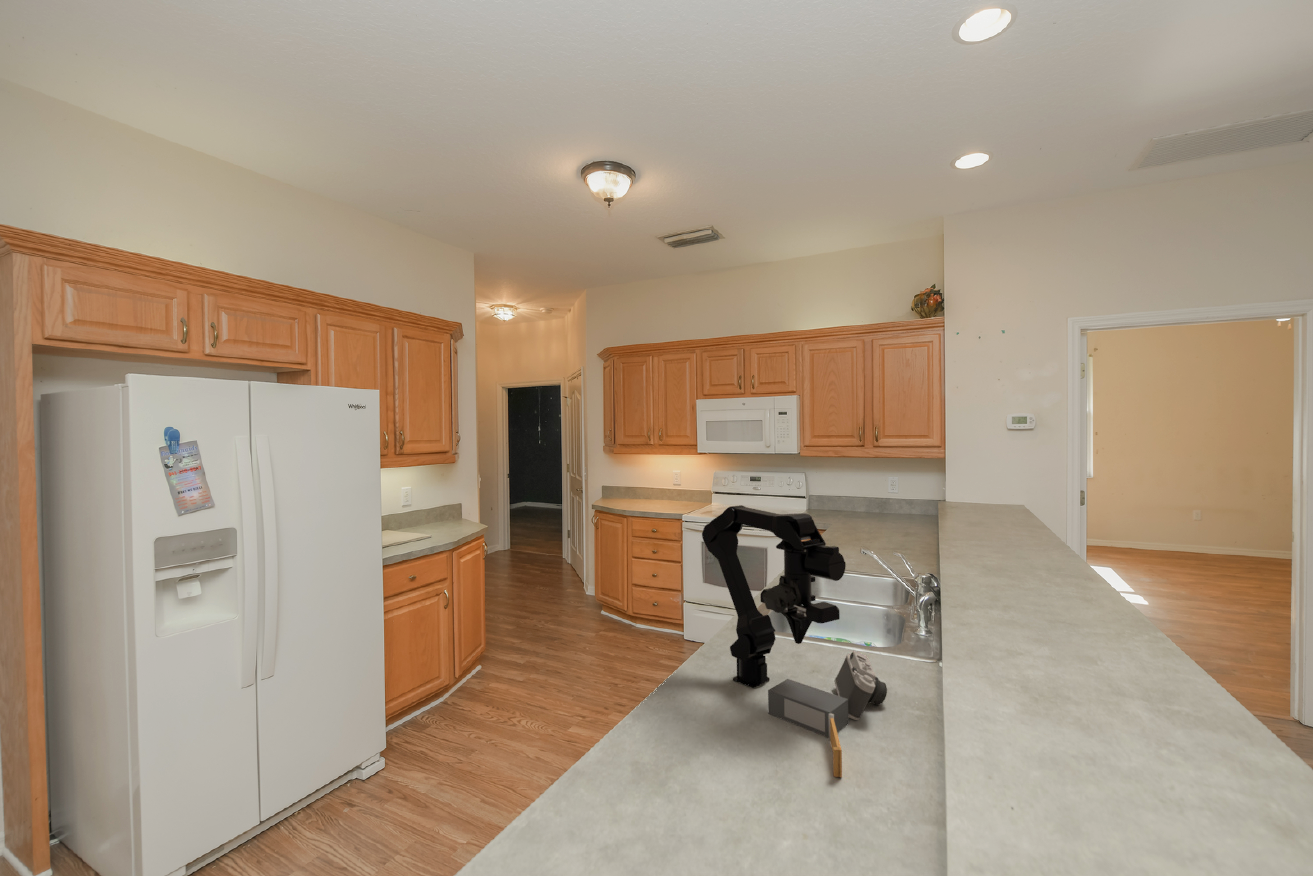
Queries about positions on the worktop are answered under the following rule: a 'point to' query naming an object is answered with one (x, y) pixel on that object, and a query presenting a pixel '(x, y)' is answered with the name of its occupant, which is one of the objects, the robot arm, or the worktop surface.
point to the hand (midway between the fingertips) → (798, 643)
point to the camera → (859, 684)
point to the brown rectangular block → (835, 750)
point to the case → (807, 707)
